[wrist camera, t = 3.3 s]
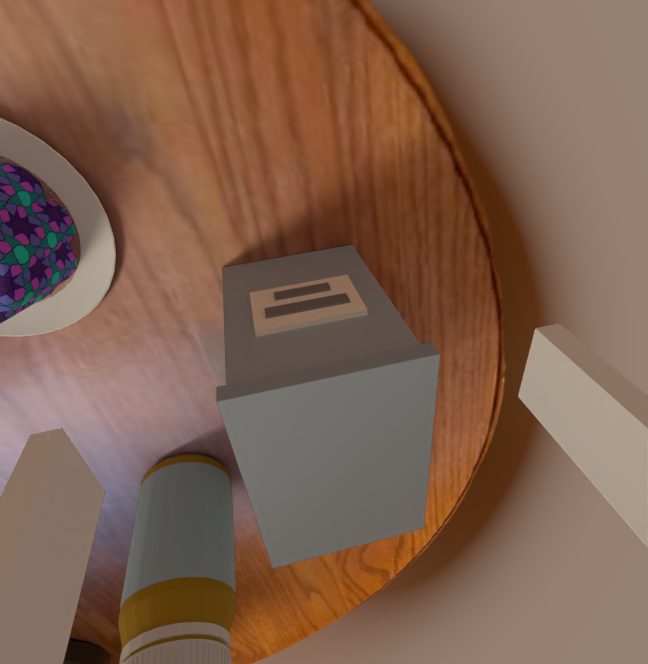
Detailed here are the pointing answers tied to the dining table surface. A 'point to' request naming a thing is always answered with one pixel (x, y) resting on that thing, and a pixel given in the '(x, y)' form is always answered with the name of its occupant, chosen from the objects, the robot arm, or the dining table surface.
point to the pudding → (47, 239)
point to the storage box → (325, 403)
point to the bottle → (180, 566)
